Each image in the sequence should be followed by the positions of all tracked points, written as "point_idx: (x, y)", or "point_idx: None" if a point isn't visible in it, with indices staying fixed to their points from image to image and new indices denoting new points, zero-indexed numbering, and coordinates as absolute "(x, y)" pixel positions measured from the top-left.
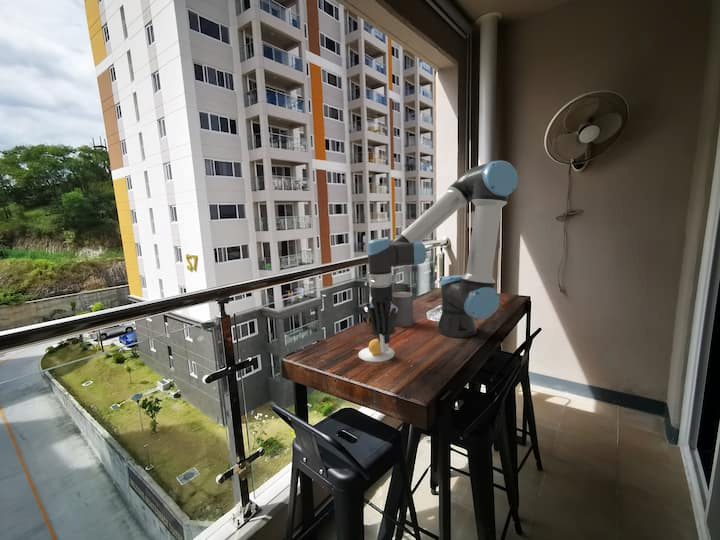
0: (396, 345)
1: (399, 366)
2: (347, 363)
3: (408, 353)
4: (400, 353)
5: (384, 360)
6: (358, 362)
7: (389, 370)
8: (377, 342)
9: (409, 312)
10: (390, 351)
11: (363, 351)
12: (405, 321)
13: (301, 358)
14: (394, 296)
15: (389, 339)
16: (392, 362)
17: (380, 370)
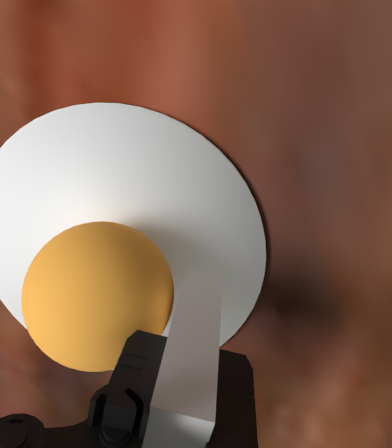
0: (195, 5)
1: (359, 374)
2: (35, 416)
3: (376, 157)
4: (302, 182)
5: (228, 337)
6: (83, 392)
7: (311, 428)
8: (116, 360)
9: None
10: (206, 186)
11: (6, 258)
12: None
13: None
14: None
15: (252, 387)
16: (292, 339)
17: (258, 438)
